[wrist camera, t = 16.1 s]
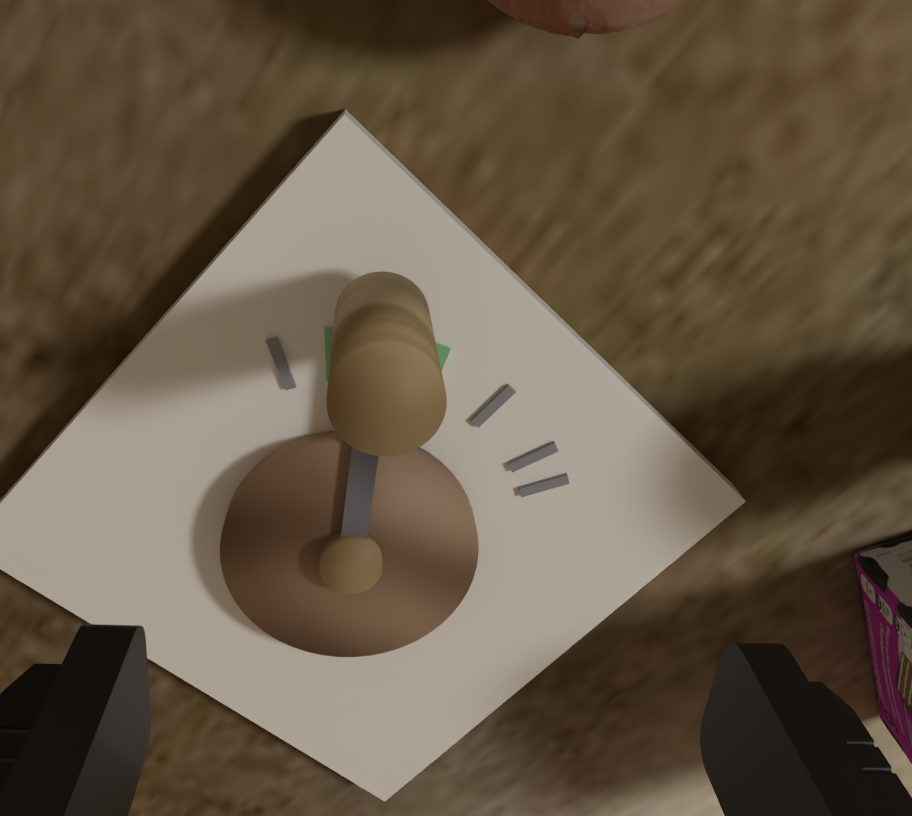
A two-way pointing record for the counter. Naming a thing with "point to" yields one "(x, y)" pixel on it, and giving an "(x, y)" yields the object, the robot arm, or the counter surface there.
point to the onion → (583, 14)
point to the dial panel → (305, 413)
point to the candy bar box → (890, 631)
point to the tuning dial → (358, 496)
